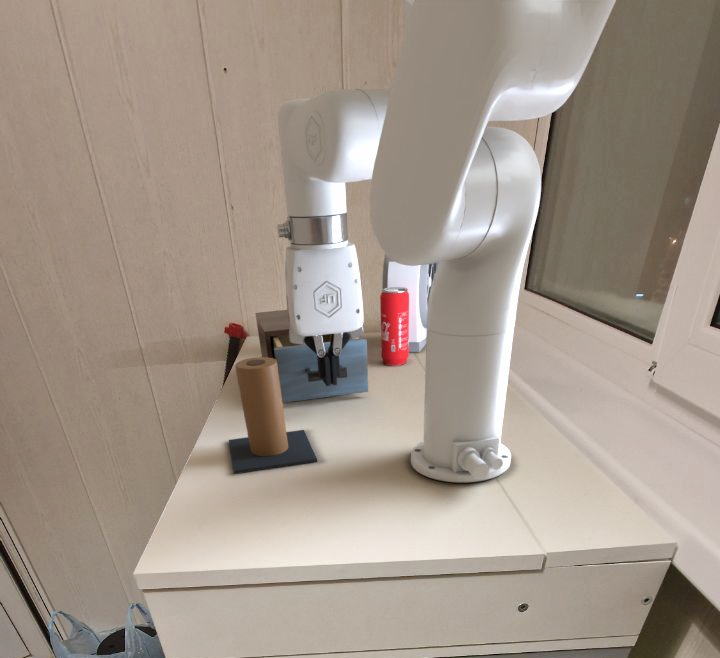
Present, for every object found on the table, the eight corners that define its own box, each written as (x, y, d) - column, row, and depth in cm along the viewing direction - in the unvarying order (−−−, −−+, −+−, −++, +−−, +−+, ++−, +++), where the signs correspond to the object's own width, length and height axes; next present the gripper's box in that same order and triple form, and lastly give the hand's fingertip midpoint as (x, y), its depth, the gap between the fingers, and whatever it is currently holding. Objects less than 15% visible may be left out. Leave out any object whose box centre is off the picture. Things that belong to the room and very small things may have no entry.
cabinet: (360, 382, 98) (357, 321, 92) (273, 393, 96) (264, 331, 89) (342, 360, 109) (338, 304, 103) (263, 369, 107) (255, 312, 101)
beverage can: (406, 366, 104) (407, 292, 96) (379, 366, 105) (377, 292, 97) (410, 358, 108) (411, 286, 100) (384, 358, 109) (382, 287, 101)
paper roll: (290, 453, 75) (279, 365, 68) (252, 458, 74) (236, 370, 67) (285, 439, 79) (274, 354, 71) (249, 444, 78) (233, 359, 71)
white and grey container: (422, 357, 108) (426, 229, 95) (381, 355, 110) (378, 230, 97) (441, 334, 121) (446, 218, 108) (403, 333, 123) (404, 220, 110)
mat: (317, 461, 73) (317, 458, 73) (234, 473, 72) (233, 470, 71) (304, 432, 81) (303, 429, 81) (229, 442, 80) (228, 439, 80)
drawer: (374, 399, 88) (373, 345, 83) (285, 411, 86) (278, 356, 81) (349, 368, 102) (346, 320, 97) (271, 377, 100) (264, 329, 95)
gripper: (264, 240, 67) (284, 396, 79) (382, 230, 70) (384, 384, 82) (257, 234, 73) (277, 381, 85) (367, 225, 75) (371, 370, 87)
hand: (329, 382), depth 83 cm, fingers closed
